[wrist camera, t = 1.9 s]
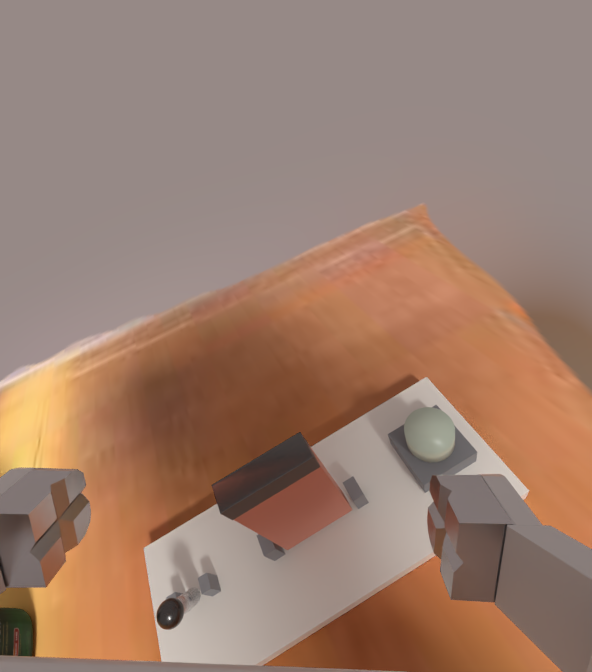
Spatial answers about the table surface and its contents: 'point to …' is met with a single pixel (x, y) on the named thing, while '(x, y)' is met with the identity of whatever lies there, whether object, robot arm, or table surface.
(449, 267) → the table surface
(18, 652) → the coffee jar
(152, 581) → the control panel
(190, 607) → the toggle lever
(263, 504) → the paddle
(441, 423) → the push button
